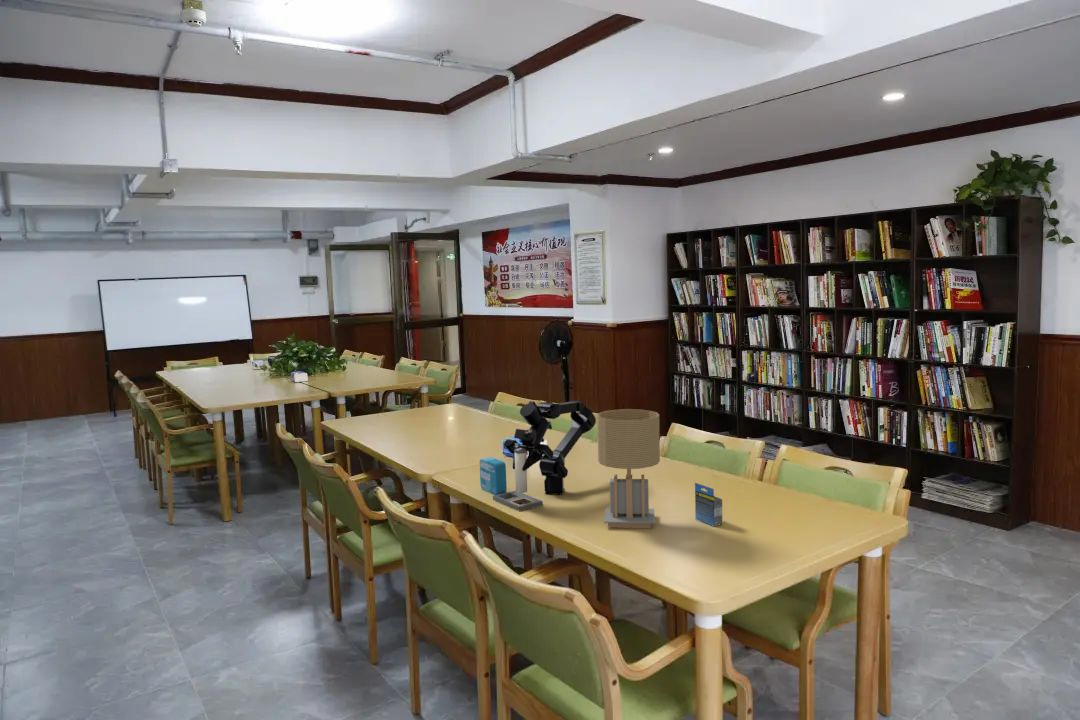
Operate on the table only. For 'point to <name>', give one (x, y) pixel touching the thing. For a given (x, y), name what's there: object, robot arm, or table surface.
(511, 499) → the jack panel
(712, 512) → the label tape cartridge
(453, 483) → the table surface
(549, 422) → the robot arm
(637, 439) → the desk lamp
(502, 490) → the blue box
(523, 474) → the white cylinder with cap
